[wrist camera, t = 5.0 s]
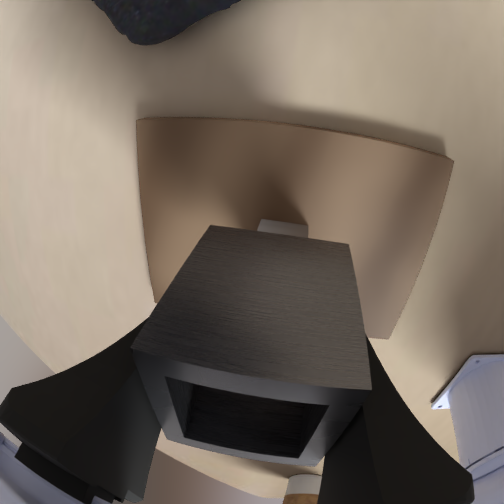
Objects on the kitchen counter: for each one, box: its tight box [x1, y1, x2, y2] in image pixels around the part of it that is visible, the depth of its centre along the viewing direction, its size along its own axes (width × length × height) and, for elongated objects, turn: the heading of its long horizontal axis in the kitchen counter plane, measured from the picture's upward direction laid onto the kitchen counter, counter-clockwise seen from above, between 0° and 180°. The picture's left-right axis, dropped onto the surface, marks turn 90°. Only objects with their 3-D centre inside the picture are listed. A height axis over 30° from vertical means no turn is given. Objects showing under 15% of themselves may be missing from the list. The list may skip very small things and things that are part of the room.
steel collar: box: [130, 225, 372, 467], centre depth 9 cm, size 5×5×6 cm
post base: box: [136, 117, 454, 339], centre depth 15 cm, size 16×12×5 cm
